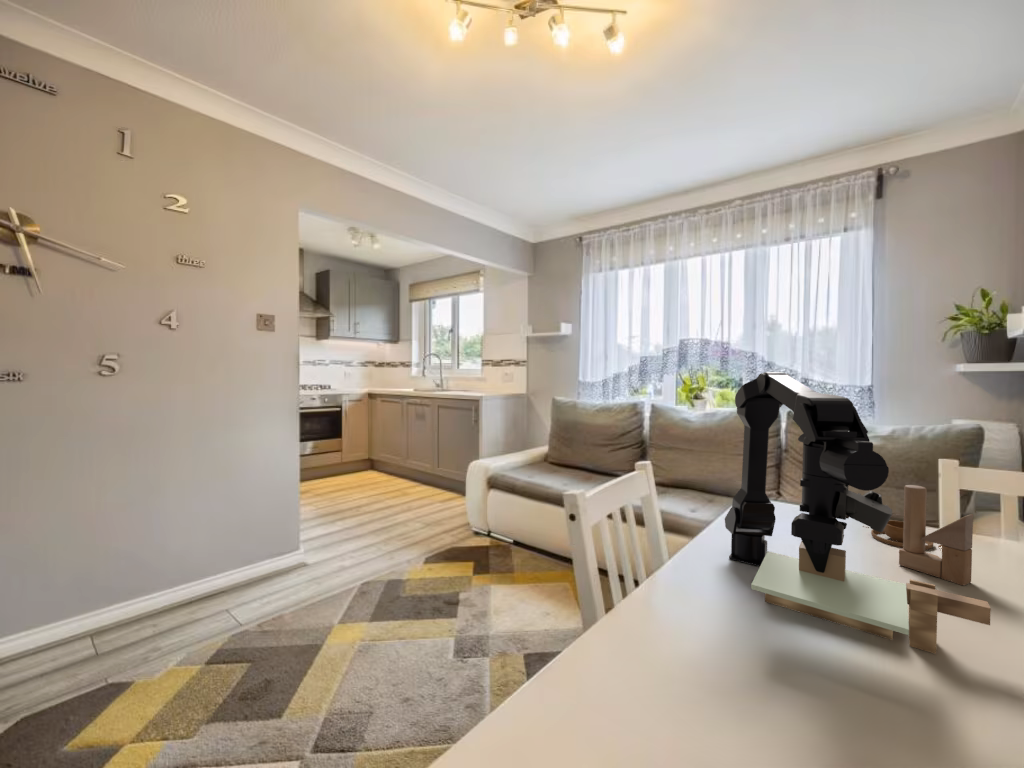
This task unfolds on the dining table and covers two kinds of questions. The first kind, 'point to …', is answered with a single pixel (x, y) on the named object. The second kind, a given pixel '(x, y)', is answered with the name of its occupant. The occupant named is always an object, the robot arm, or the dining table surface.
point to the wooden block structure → (935, 541)
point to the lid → (834, 589)
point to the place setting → (895, 534)
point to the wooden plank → (957, 605)
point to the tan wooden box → (919, 628)
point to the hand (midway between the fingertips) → (821, 568)
